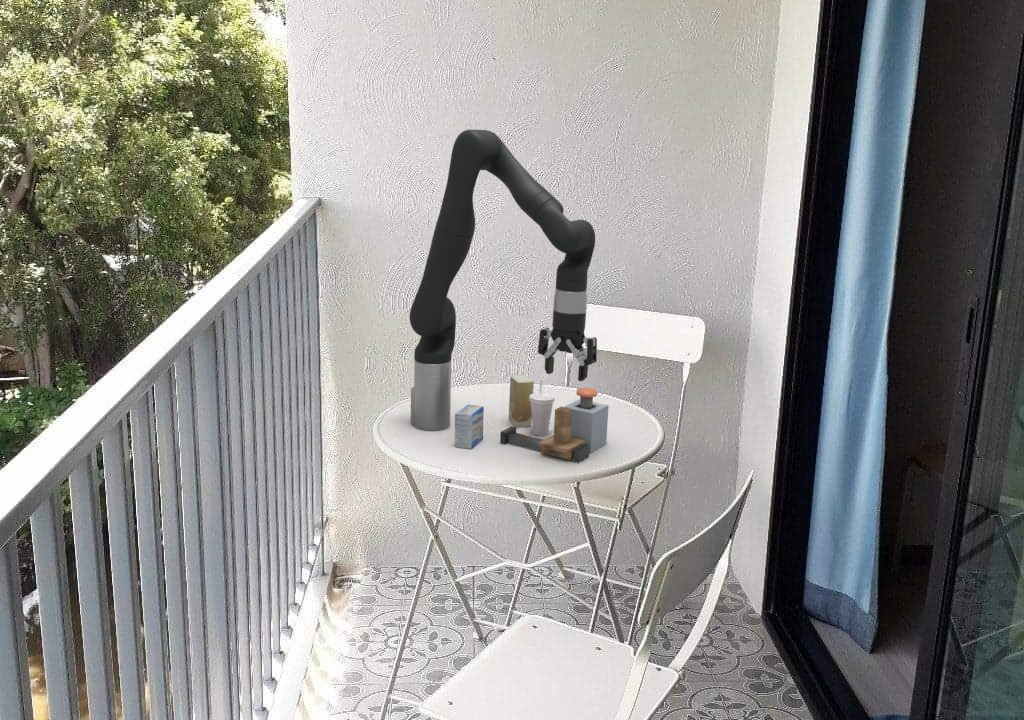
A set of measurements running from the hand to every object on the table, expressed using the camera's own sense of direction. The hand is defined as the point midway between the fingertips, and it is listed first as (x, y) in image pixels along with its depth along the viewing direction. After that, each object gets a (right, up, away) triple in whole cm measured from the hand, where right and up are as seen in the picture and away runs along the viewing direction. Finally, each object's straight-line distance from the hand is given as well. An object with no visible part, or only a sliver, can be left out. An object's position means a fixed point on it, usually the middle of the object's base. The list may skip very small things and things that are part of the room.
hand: (565, 376), depth 232 cm
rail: (-5, -18, +8) cm, 20 cm away
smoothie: (-5, -15, +20) cm, 25 cm away
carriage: (-1, -18, +5) cm, 19 cm away
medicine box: (-23, -16, +11) cm, 30 cm away
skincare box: (-10, -13, +26) cm, 31 cm away
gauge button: (+5, -10, +10) cm, 15 cm away
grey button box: (+5, -17, +12) cm, 21 cm away
